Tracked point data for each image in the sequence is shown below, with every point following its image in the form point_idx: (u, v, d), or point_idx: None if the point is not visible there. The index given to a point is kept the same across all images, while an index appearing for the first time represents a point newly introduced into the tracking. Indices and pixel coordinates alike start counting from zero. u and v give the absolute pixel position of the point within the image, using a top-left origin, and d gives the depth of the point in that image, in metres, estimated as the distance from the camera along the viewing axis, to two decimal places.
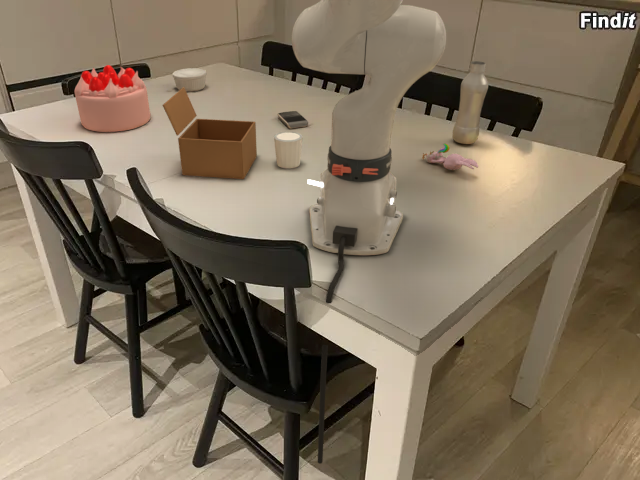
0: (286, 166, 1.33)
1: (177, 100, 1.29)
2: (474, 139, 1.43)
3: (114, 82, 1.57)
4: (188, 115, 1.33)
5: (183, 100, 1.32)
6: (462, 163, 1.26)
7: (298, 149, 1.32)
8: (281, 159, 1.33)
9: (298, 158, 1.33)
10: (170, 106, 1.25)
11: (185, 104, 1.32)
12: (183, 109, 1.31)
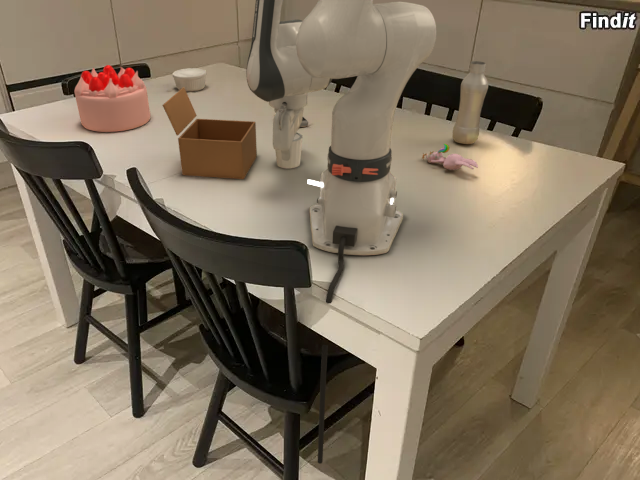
0: (286, 166, 1.33)
1: (177, 100, 1.29)
2: (474, 139, 1.43)
3: (114, 82, 1.57)
4: (188, 115, 1.33)
5: (183, 100, 1.32)
6: (462, 163, 1.26)
7: (298, 149, 1.32)
8: (281, 159, 1.33)
9: (298, 158, 1.33)
10: (170, 106, 1.25)
11: (185, 104, 1.32)
12: (183, 109, 1.31)
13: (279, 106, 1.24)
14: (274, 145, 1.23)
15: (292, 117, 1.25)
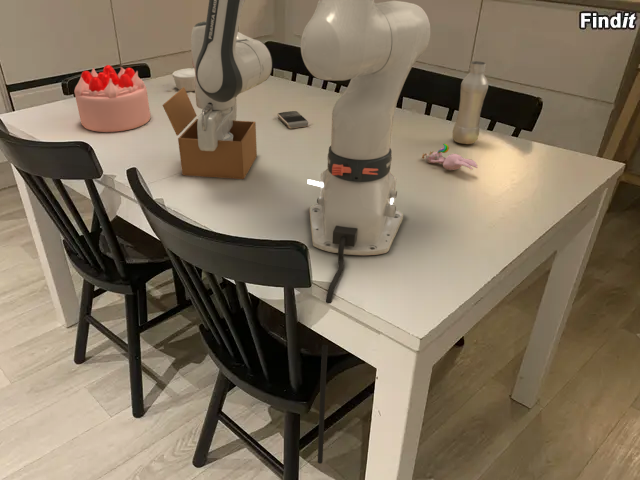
0: None
1: (177, 100, 1.29)
2: (474, 139, 1.43)
3: (114, 82, 1.57)
4: (188, 115, 1.33)
5: (183, 100, 1.32)
6: (461, 163, 1.26)
7: None
8: None
9: None
10: (170, 106, 1.25)
11: (185, 104, 1.32)
12: (183, 109, 1.31)
13: (205, 107, 1.24)
14: (199, 146, 1.23)
15: (218, 118, 1.24)
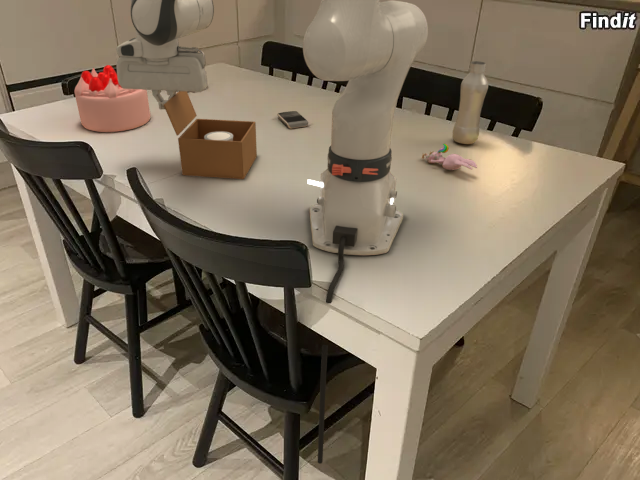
0: None
1: (178, 100, 1.29)
2: (474, 139, 1.43)
3: (114, 82, 1.57)
4: (188, 115, 1.33)
5: (184, 100, 1.32)
6: (461, 163, 1.26)
7: None
8: None
9: None
10: (171, 106, 1.25)
11: (186, 104, 1.32)
12: (183, 109, 1.31)
13: (175, 52, 1.21)
14: (203, 86, 1.24)
15: None
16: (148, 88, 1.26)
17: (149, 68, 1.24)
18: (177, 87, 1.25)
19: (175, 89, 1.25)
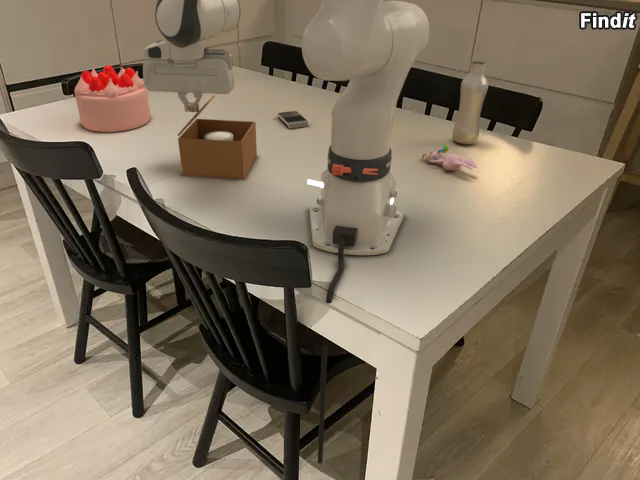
0: None
1: None
2: (474, 139, 1.43)
3: (114, 82, 1.57)
4: None
5: None
6: (460, 163, 1.26)
7: None
8: None
9: None
10: None
11: None
12: (198, 114, 1.31)
13: (202, 54, 1.20)
14: (231, 88, 1.23)
15: None
16: (174, 90, 1.25)
17: (176, 71, 1.23)
18: (204, 90, 1.24)
19: (202, 91, 1.24)
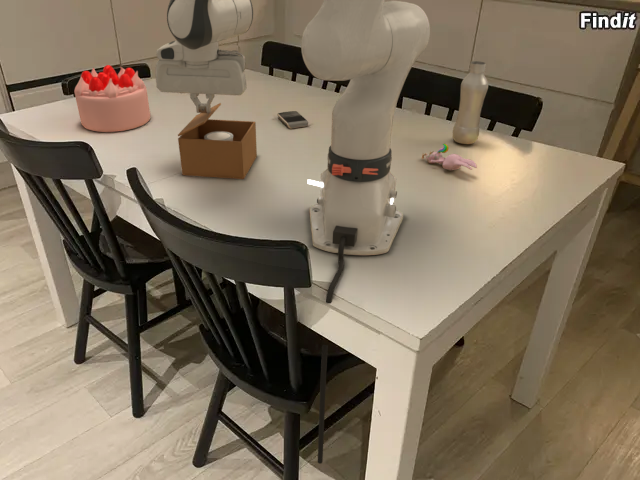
0: None
1: None
2: (474, 139, 1.43)
3: (114, 82, 1.57)
4: None
5: None
6: (460, 163, 1.26)
7: None
8: None
9: None
10: None
11: None
12: (201, 118, 1.31)
13: (215, 56, 1.20)
14: (243, 89, 1.23)
15: None
16: (186, 91, 1.25)
17: (188, 72, 1.23)
18: (217, 91, 1.24)
19: (214, 92, 1.24)
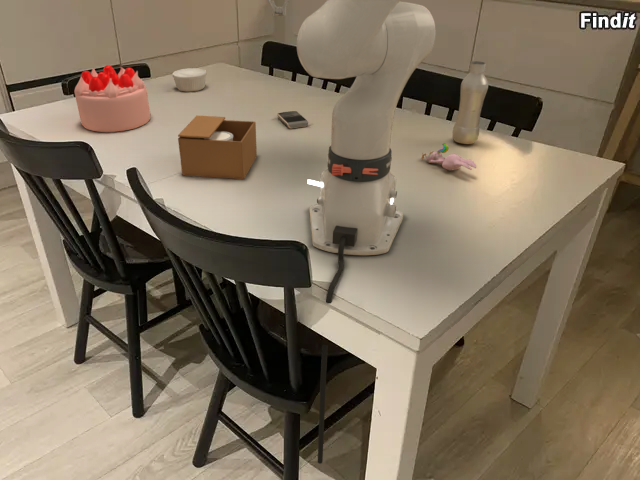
0: None
1: None
2: (474, 139, 1.43)
3: (114, 82, 1.57)
4: None
5: None
6: (460, 163, 1.26)
7: None
8: None
9: None
10: None
11: None
12: None
13: None
14: None
15: None
16: None
17: None
18: None
19: None
